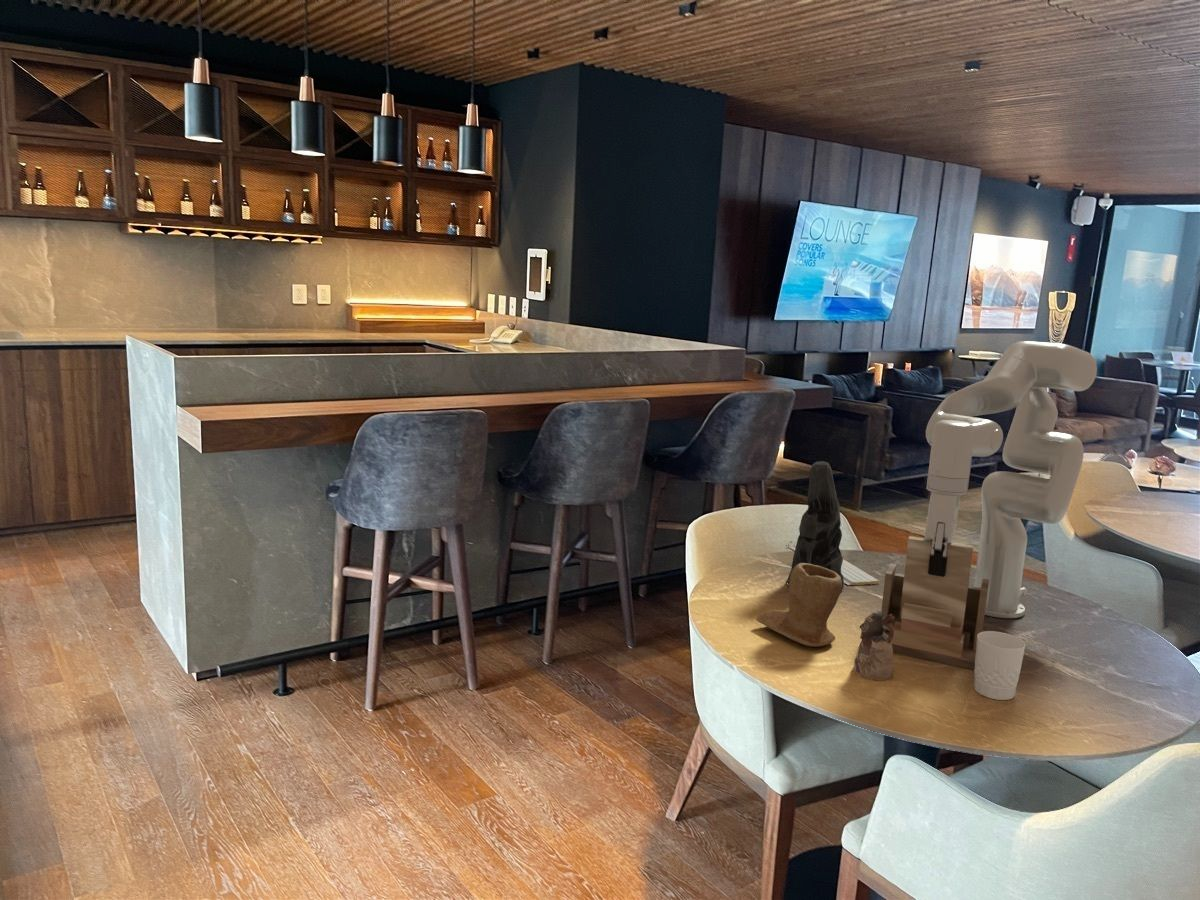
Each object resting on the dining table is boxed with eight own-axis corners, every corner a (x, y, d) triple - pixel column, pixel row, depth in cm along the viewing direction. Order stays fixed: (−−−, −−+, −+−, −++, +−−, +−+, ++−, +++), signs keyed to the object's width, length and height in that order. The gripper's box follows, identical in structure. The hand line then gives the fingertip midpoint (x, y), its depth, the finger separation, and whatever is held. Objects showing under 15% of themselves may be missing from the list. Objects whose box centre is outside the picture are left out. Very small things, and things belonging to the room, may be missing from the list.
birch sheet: (899, 629, 181) (909, 536, 178) (961, 641, 176) (973, 545, 172) (897, 632, 180) (908, 538, 176) (960, 644, 175) (972, 548, 171)
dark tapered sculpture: (775, 576, 215) (785, 457, 210) (825, 574, 219) (836, 456, 213) (802, 597, 202) (813, 470, 197) (855, 593, 206) (868, 468, 200)
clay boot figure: (849, 643, 177) (856, 572, 174) (806, 655, 171) (813, 581, 168) (795, 618, 190) (801, 551, 187) (754, 627, 183) (759, 559, 180)
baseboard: (842, 588, 211) (878, 586, 213) (843, 577, 210) (879, 575, 213) (784, 550, 239) (817, 548, 242) (785, 540, 239) (818, 538, 241)
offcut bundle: (894, 635, 178) (897, 600, 177) (962, 648, 173) (967, 612, 171) (890, 643, 174) (894, 608, 172) (961, 658, 168) (965, 621, 167)
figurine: (860, 660, 169) (866, 601, 167) (897, 671, 165) (904, 610, 163) (847, 673, 163) (853, 612, 161) (885, 684, 159) (892, 622, 157)
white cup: (995, 705, 153) (1002, 651, 151) (960, 685, 160) (967, 634, 158) (1028, 698, 156) (1035, 645, 154) (992, 679, 163) (999, 628, 161)
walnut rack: (883, 626, 187) (890, 563, 184) (980, 645, 179) (989, 579, 176) (873, 648, 175) (880, 581, 172) (976, 670, 167) (985, 600, 164)
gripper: (931, 473, 180) (921, 559, 184) (922, 489, 166) (912, 581, 170) (970, 478, 177) (960, 565, 181) (965, 494, 163) (953, 588, 167)
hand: (937, 572), depth 175 cm, fingers closed on birch sheet, 2 cm apart
